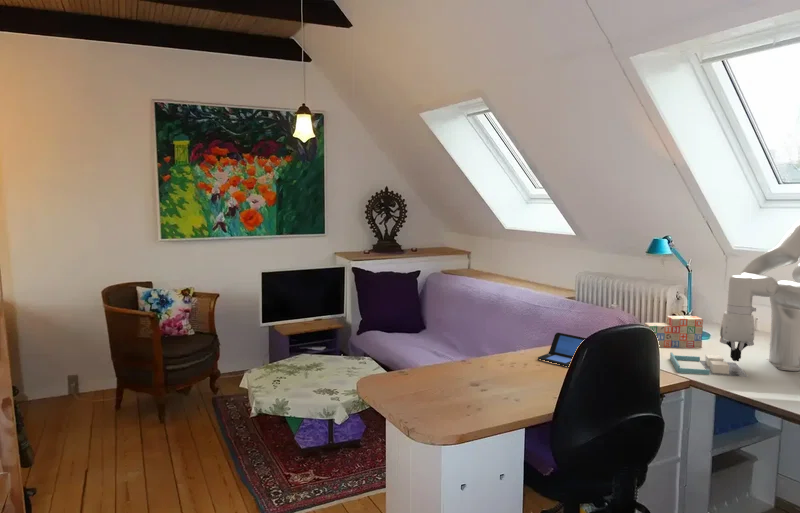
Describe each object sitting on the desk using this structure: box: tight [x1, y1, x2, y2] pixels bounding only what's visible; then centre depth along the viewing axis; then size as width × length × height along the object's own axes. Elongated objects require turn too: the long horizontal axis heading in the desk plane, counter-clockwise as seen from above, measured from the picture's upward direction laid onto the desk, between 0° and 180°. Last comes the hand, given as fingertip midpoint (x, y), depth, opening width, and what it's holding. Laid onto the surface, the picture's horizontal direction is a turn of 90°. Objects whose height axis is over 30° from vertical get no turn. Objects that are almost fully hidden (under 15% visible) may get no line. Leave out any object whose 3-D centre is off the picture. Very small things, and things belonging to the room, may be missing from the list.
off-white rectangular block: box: [710, 361, 729, 374], centre depth 205 cm, size 5×4×3 cm
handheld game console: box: [537, 332, 586, 368], centre depth 226 cm, size 16×13×9 cm
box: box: [669, 352, 710, 376], centre depth 211 cm, size 10×17×4 cm, turn 163°
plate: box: [699, 360, 749, 378], centre depth 208 cm, size 12×17×2 cm
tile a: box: [704, 354, 725, 366], centre depth 212 cm, size 5×4×3 cm
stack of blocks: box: [644, 315, 704, 349], centre depth 244 cm, size 21×6×12 cm, turn 85°
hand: (735, 360), depth 210 cm, fingers closed
